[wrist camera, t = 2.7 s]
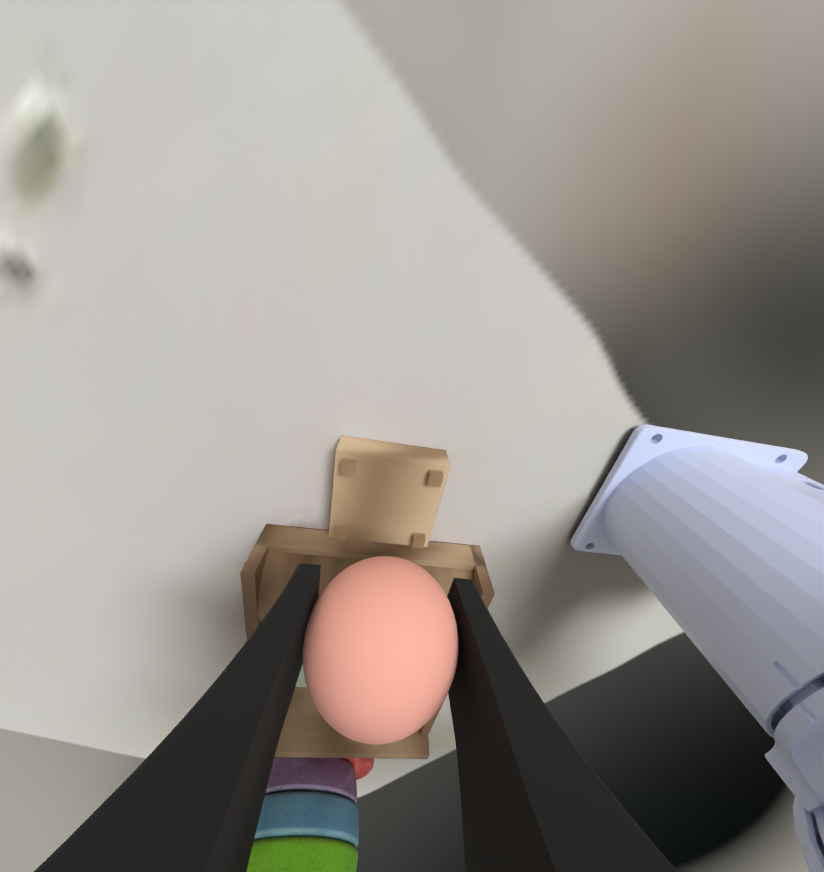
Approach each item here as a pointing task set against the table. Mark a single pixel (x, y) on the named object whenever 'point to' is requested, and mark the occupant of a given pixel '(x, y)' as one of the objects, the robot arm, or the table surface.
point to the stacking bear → (309, 816)
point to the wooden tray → (273, 571)
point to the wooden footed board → (386, 491)
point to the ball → (380, 650)
